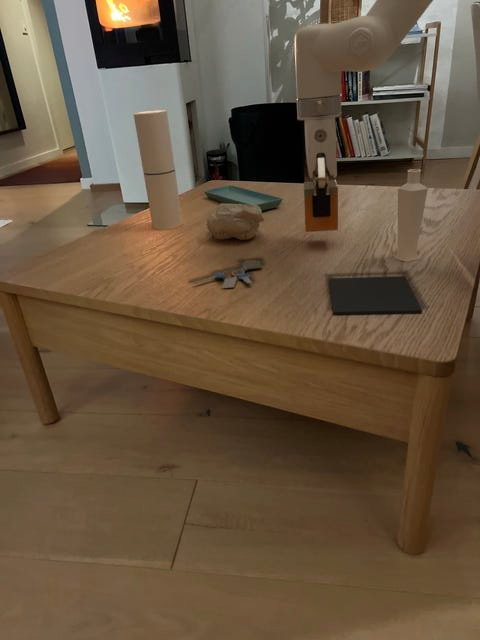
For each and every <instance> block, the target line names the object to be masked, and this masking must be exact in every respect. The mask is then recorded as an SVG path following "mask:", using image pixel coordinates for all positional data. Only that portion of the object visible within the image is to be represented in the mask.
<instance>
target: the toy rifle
mask: <svg viewBox="0 0 480 640" xmlns="http://www.w3.org/2000/svg"><path fill="white" fill-rule="evenodd" d="M241 266H242V267H241V268H239V269H236V270H234V269H233V270H232V269H227V270H224V271H223V272H222V273H220V272H219V273H215V274H213V276H211V277H207V278H205V279H201V280H199V281H195V282H193V283H192V284H193V285H196V284H200V283H203V282H206V281H209V280H212V279H215V278H216V279H221V278H224V281H223V284H222V287H221V289H230V288H235V286H236V283H237V279H238V280H242V281H243V282H244V283H245V284H247V285H249V284H252V283H253V281H252V280H251V279H250V277H251V276H252V275H251V274H250V273H245V272H247V271H249V270H255V269H261V268H262V267H263V266H262V264H261V261H260V260H254V261H253V260H252V261H244V262H242V263H241ZM226 272H231V275H232V277H229V276H226V274H225V273H226Z"/></svg>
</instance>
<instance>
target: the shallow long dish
mask: <svg viewBox="0 0 480 640" xmlns="http://www.w3.org/2000/svg"><path fill="white" fill-rule="evenodd" d="M203 193H204V194H205V196H206V197H207V198H208V199H211V200H214V201H216V202H220V203H222V204H246V205H257V206H259V207H260V208H261V211H262V212H263V211H266V210H271V209H275V208H278V207H279V206H280V205H281V203H282V201H283V199H284V198H283V197H279V196H275V195H272V194H267V193H263V192H259V191H255V190H252V189H248V188H244V187H240V186H237V185H232V184H228V185H224V186H219V187H213V188H210V189H205V190H203Z"/></svg>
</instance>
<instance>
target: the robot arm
mask: <svg viewBox="0 0 480 640" xmlns="http://www.w3.org/2000/svg"><path fill="white" fill-rule="evenodd" d="M432 2H434V0H375V2H374V3H373V4H372V6H371V7H370V9H369V10H368V12H367V14H365V15H361V16H356V17H352V18H350V19H347V20H343V21H340V22H336V23H317V24H311V25H306V26H303V27H300V28H299V29H298V30H297V31H296V32H295V35H294V61H295V88H296V89H295V90H296V91H295V92H296V114H297V115H296V117H297V121H304V141H305V142H304V143H305V156H306V157H305V158H306V163H307V164H306V166H307V171H308V177H309V178H310V179H311V182H313V190H314V195H312V206H313V217H329V216H330V215H331V210H330V194H329V180H330V177H332V178H333V179H335V178H336V177H337V176H338V165H337V163H338V162H337V161H338V160H337V158H338V157H337V155H338V154H337V125H336V118H339V117H341V116H342V72H353V73H354V72H355V73H362V72H363V73H364V72H368V71H371V70H374V69H377V68H380V67H381V66H382V65H384V64H385V63H386V62H387V61H388V60H389V58H390V57H391V56H392V55H393V53H394V52H395V51H396V50H397V49H398V47H399V46H400V45H401V43H402V42H403V40H405V38H406V37H407V35H408V34H409V33H410V32H411V31H412V29H413V28H414V26H415V25H416V24H417V22H418V21H419V20H420V18H422V16H423V15H424V13H425V12H426V10H427V9H428V8H429V7H430V5H431V4H432ZM329 176H330V177H329ZM316 182H317V183H316ZM316 188H317V189H316Z"/></svg>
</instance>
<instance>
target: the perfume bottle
mask: <svg viewBox="0 0 480 640" xmlns="http://www.w3.org/2000/svg"><path fill="white" fill-rule="evenodd" d="M421 172H422V170H421V169H420V168H410V169H408V170H407V181H406V182H405V183H404V184H403V185H401V186H400V187H398V188H397V251H396V252H395V256H394V260H395V259H396V260H397V261H398V260H399V261H402V262H404V263H407V262H413V261H418V260H419V256H418V251H417V250H418V245H419V239H420V234H421V227H422V222H423V217H424V211H425V205H426V202H427V201H426V200H427V195H428V190H429V187H426V186H425V185H424V184H422V183H421V182H420V180H421Z"/></svg>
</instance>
